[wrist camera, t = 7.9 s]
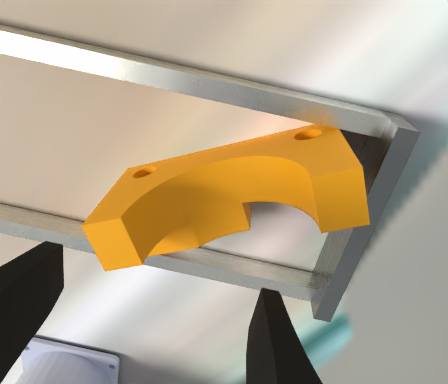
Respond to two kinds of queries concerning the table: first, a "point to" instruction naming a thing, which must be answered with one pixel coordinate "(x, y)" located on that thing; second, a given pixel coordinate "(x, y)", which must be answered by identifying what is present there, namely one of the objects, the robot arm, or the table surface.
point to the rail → (248, 98)
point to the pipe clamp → (227, 194)
